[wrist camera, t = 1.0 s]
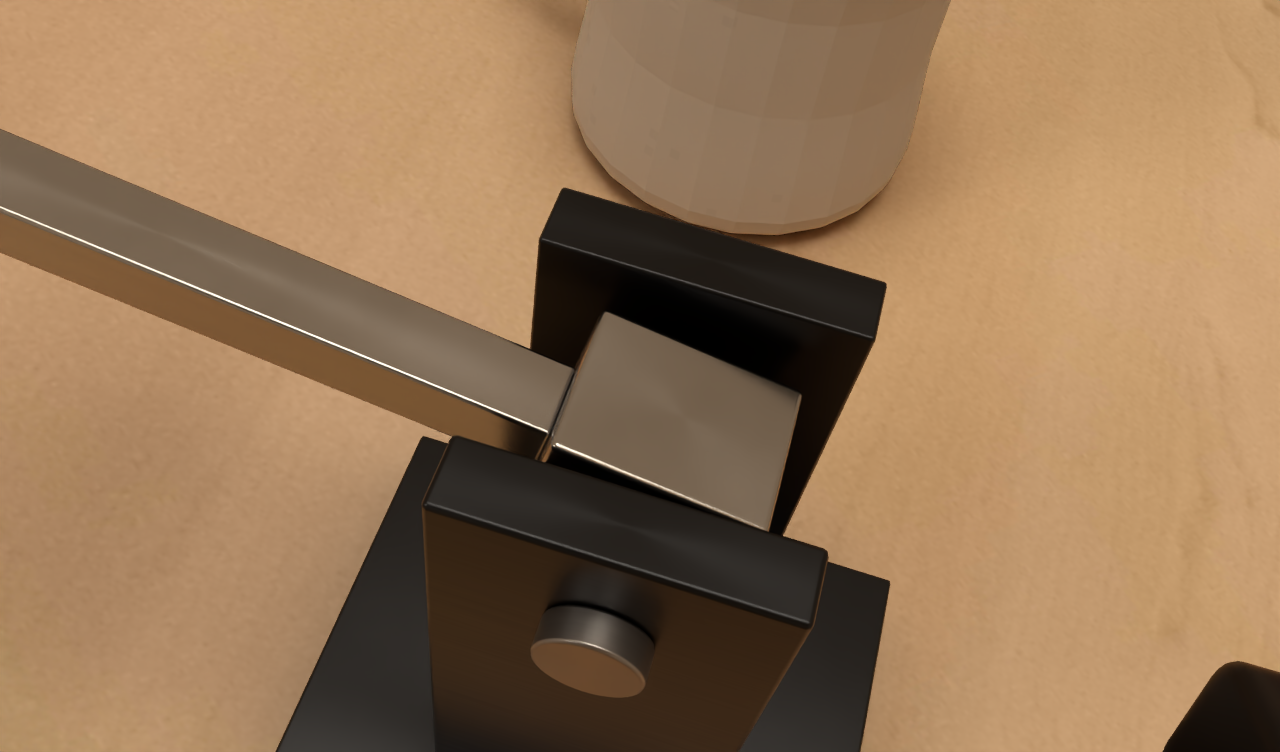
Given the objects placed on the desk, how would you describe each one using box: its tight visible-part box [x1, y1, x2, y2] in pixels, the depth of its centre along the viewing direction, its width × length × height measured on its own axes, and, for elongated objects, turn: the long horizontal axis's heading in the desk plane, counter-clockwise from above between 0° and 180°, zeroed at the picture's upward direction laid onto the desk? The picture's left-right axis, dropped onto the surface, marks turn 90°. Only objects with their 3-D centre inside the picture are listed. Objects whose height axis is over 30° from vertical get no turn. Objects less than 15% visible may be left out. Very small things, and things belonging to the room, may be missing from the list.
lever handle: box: [0, 129, 802, 532], centre depth 15 cm, size 14×10×2 cm
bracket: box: [276, 188, 890, 752], centre depth 19 cm, size 10×8×11 cm
